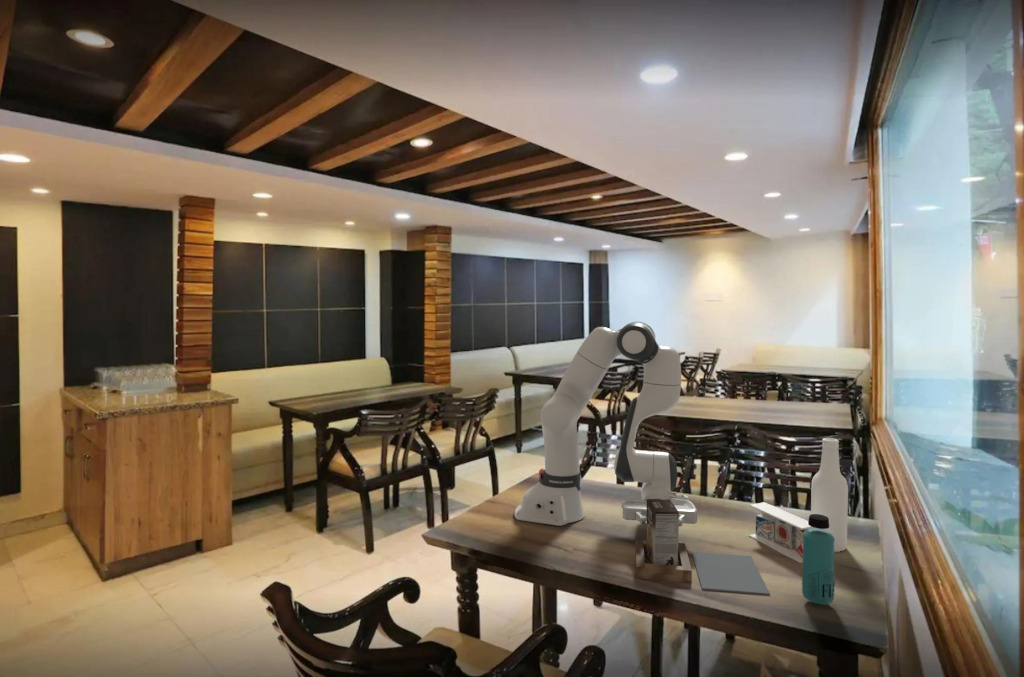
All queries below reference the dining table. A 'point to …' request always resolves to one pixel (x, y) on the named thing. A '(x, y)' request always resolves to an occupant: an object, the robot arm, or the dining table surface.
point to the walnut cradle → (663, 571)
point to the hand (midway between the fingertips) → (660, 522)
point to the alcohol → (831, 493)
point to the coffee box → (662, 532)
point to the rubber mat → (729, 573)
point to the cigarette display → (780, 530)
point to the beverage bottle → (818, 561)
